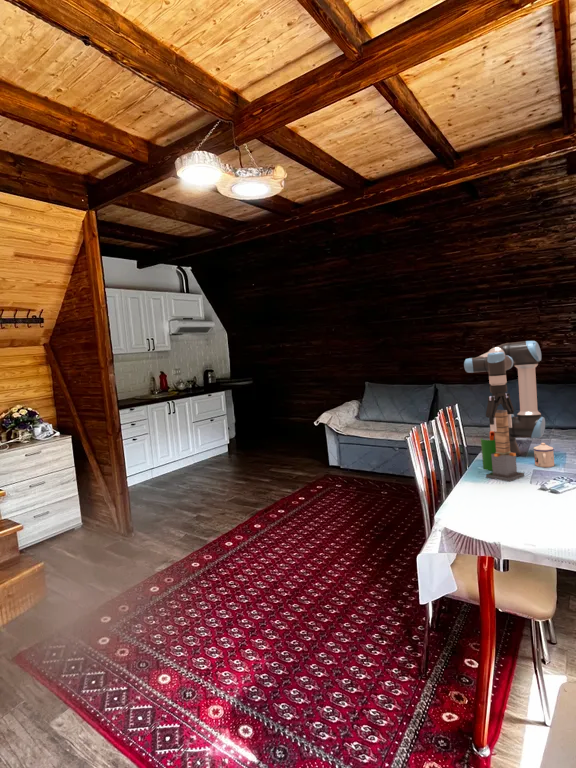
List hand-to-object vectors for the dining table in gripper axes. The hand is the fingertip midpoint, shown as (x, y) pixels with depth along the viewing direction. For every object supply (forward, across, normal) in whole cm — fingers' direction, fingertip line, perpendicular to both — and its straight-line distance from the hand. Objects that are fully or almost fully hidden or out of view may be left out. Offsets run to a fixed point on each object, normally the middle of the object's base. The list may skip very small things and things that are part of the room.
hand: (501, 429), depth 210 cm
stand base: (+23, 0, 0) cm, 23 cm away
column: (+14, 0, 0) cm, 14 cm away
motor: (+23, -10, -12) cm, 28 cm away
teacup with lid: (+23, -29, +3) cm, 37 cm away
